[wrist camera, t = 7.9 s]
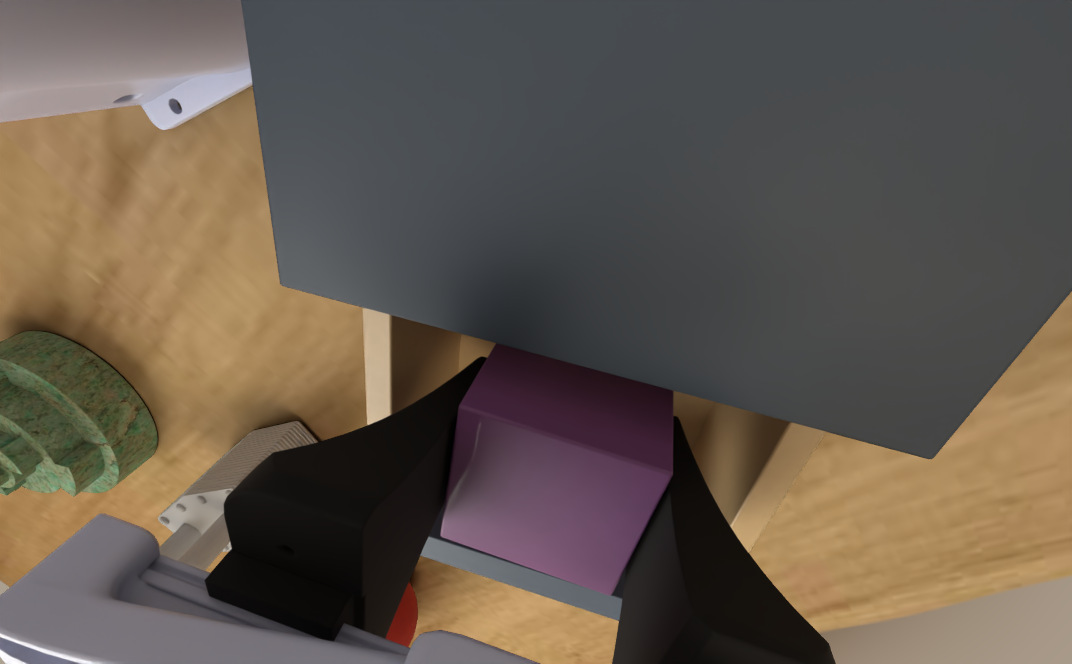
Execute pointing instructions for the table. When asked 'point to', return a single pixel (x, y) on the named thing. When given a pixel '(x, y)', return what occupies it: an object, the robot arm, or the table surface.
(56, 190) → the table surface
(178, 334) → the table surface
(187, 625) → the robot arm
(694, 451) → the drawer
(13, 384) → the decorative artifact
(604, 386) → the block
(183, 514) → the padlock
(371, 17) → the cabinet
